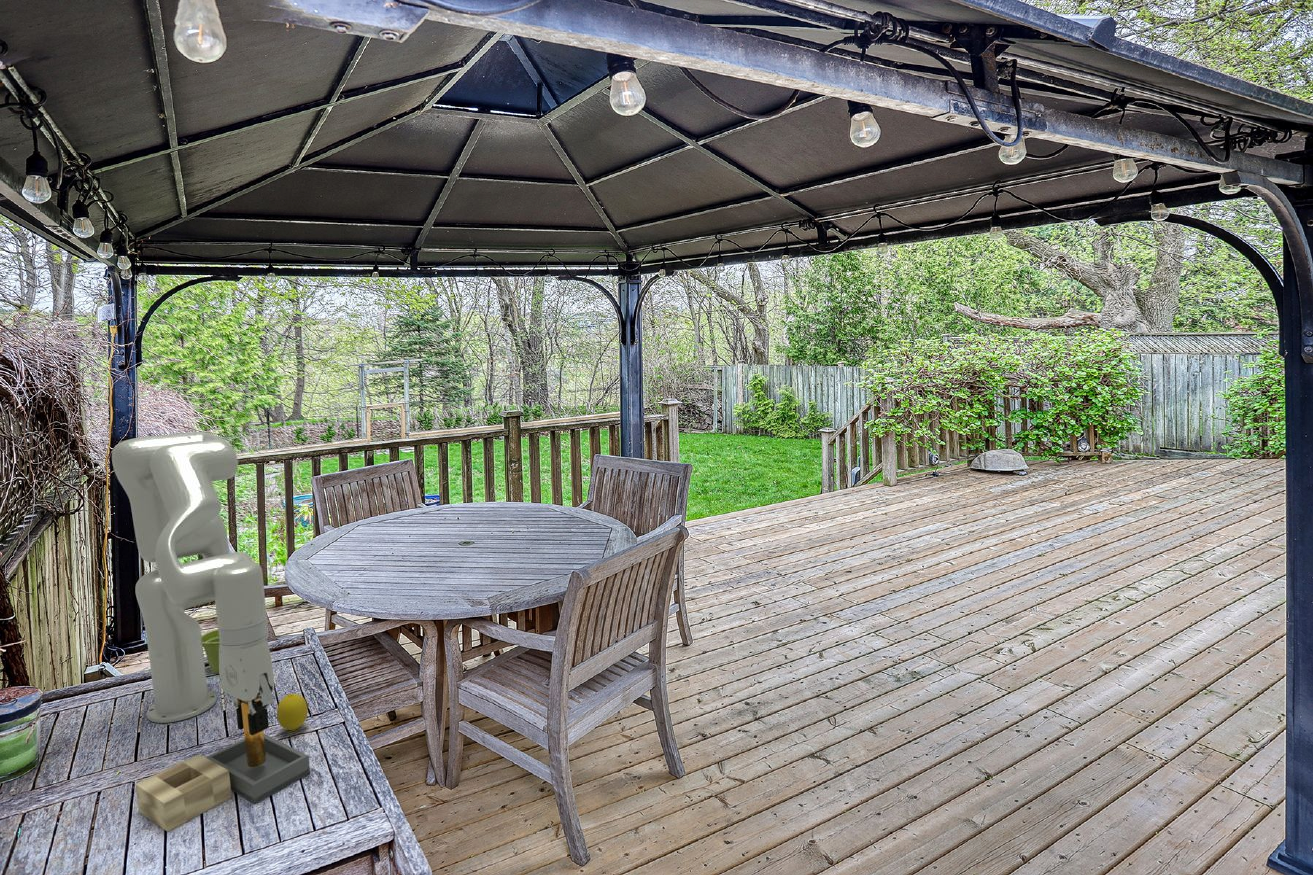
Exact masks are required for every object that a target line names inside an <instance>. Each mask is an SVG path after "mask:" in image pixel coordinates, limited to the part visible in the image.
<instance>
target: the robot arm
mask: <svg viewBox="0 0 1313 875" xmlns="http://www.w3.org/2000/svg"><path fill="white" fill-rule="evenodd" d="M111 461H112V467H113V470H114V473H115V476H116V478H117V480H118V482H119V484H120V485H121V486H122V488H123V490H124V491H125V493H126V495H127V497H128V499H129V503H130V509H131V515H132V522H133V529H134V534H135V540H136V545H137V549H138V553H139V555H140V557H141V559H142V560H143V561H145V562H147V563H155V565H156V569H155V570H152V571H149V572H147V573H145V574H143V575H142V576H141V577H140V578H139V579H138V580H137V582H136V584H135V588H134V589H135V596H136V600H137V603H138V606H139V609H140V612H141V617H142V620H143V625H144V628H145V635H146V642H147V649H148V657H149V658H148V659H149V665H150V666H149V667H150V675H151V682H152V690H153V698H154V699H153V700H154V703H153V704H152V705H151V706H150V707H149V708H148V709H147V711H146V718H147V719H148V720H149V721H150V722H153V723H161V724H165V723H167V724H169V723H175V722H180V721H183V720H187V719H190V718H193V717H195V716H199V715H201V714H203V713H204V712H206V711H208V710H210V709H211V708H212V707H213V706H214V705H215V704H216V703H217V701H218V700H217V699H218V698H217V696H218V695H217V693H216V691H214V690H212V689H211V690H210V689H208V683H207V682H208V681H207V675H206V674H207V673H206V667H205V666H206V664H205V656H204V647H203V645H202V630H201V626H200V624H199V621H197V620H196V619H195V618H194V617H193V616H191V615H189V613H186V612H185V610H187V609H190V608H192V607H196V606H200V605H203V604H207V603H211V602H214V604H215V612H216V622H217V629H218V633H219V642H220V645H219V673H218V674H219V675H218V676H219V686H220V689H221V691H222V692H223V693H226V694H227V695H230V696H232V697H233V705H234V708H235V712H236V722H237V723H236V724H237V729H238V730H244V727H243V717H242V708H241V701H245V702H248V705H249V711H250V714H247V715H248V725H249V734H250V735H255V734H257V733H259V732H261V731H263V732H264V731H265V730H267V729H269V725H270V724H269V716H268V708H269V704H272V703H274V701H275V699H274V697H273V694H272V693H273V691H274V690H275V675H274V667H273V661H272V655H271V651H270V647H269V646H270V645H269V642H268V637H269V626H268V625H269V624H268V617H267V608H266V607H267V606H266V598H265V596H266V595H265V586H264V584H265V583H264V577H263V576H264V574H263V573H264V572H263V569H262V566H261V565H260V564H259V563H258V562H256V561H255V559H254V558H252V557H251V556H250V555H249V554H248V553H246V552H243V551H236V552H235V551H234V552H230V546H229V541H228V534H227V530H226V529H227V528H226V525H225V523H224V520H223V518H222V517H221V515H220V513H221V510H222V503H221V500H220V498H219V497H218V494H217V492H216V489H215V487H214V485H213V483H212V482H218V481H225V480H226V481H227V480H229V479H231V478H234V477H235V475H236V474H237V473H238V468H239V461H238V456H237V454H236V451H235V449H234V448H233V446H232V445H231V444H230V443H229V442H228V441H227V440H226V439H225V438H222V437H219V436H218V435H215V434H213V433H209V432H207V431H193V432H192V431H191V432H183V433H173V434H160V435H159V434H158V435H150V436H149V435H147V436H140V437H135V438H130V439H126V440H122V441H120V442H119V443H118V444H116V445H115V446H114V447H113V449H112V452H111ZM196 555H201V556H202V559H201V558H200V559H198V560H193V561H188V562H184V563H181V562H180V560H179V559H182V558H186V557H191V556H196ZM258 698H260V701H257V702H256V704H255V701H254V700H256V699H258Z"/></svg>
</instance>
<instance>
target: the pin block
mask: <svg viewBox="0 0 1313 875" xmlns="http://www.w3.org/2000/svg"><path fill="white" fill-rule="evenodd" d="M206 757H207V756H206ZM206 757H205V755H202V754H201V753H198V754H196V755H194V756H192V757H189V758H187V759H186V760H183V761H181V762H179V763H177V764H175V765H173V766H170V767H168V768H166V769H163V770H162V771H160V772H158V773H156V774H154V775H152V776H149V777H147V778H145V779H143V780H141V781H139V782H137V783H135V784H134V785H135V791H136V800H137V801H136V802H137V808H138V812H139V813H140V814H142V815H143V816H145V817H146V818H148V820H150V821H152V822H153V823H155V824H156V825H157V826H159V827H160V828H162V829H163V830H164V831H166V832H170V831H172V830H174V829H176V828H177V827H179V826H181V825H183V824H185V823H187V822H188V821H191V820H192V819H194V818H196V817H197V816H198V817H199V816H200V815H202V814H203V813H205V812H207V811H209V810H211V809H212V808H215V807H217V806H218V805H220V804H223V803H225V802H226V801H228V800H229V799H231V798H233V797H232V795H233V794H232V790H231V786H230V776H229V770H227V769H225V768H223V767H222V766H220V765H218V764H216V763H214V762H213V761H211V760H209V759H207V758H206Z"/></svg>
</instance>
